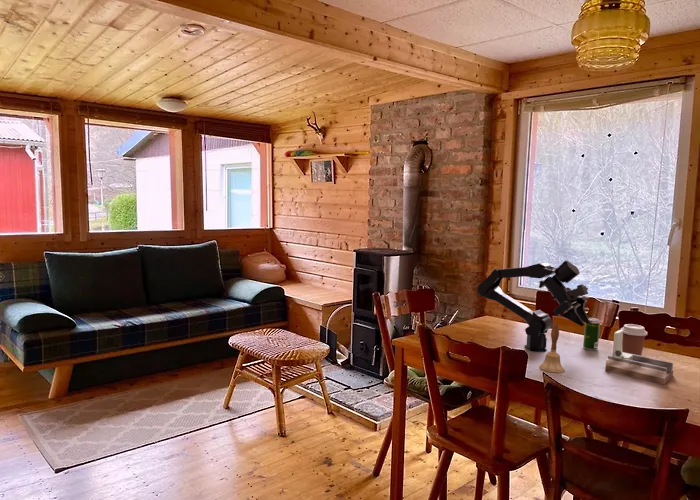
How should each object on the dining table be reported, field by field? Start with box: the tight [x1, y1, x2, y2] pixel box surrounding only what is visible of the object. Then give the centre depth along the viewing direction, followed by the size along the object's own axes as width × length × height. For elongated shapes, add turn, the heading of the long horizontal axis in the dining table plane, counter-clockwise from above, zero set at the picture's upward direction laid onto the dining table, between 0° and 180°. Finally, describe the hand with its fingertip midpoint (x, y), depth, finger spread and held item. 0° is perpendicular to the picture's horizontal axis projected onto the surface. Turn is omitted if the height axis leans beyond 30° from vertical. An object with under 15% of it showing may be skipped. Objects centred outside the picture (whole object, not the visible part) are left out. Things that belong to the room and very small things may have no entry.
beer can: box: [582, 317, 601, 351], centre depth 206 cm, size 5×5×12 cm
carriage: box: [611, 329, 633, 360], centre depth 181 cm, size 5×9×11 cm, turn 136°
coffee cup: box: [619, 323, 648, 356], centre depth 196 cm, size 9×9×12 cm
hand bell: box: [538, 323, 565, 374], centre depth 180 cm, size 8×8×16 cm
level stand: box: [604, 351, 674, 385], centre depth 179 cm, size 18×12×5 cm, turn 46°
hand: (586, 324), depth 190 cm, fingers open, 5 cm apart
